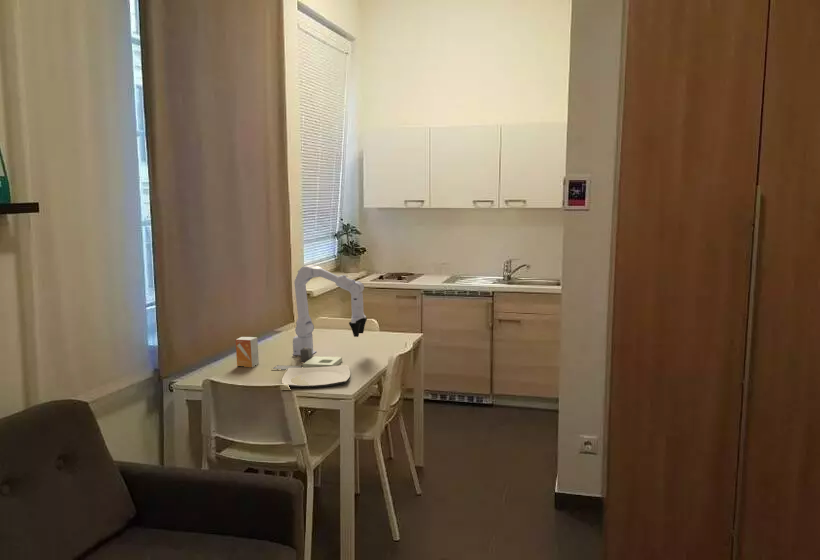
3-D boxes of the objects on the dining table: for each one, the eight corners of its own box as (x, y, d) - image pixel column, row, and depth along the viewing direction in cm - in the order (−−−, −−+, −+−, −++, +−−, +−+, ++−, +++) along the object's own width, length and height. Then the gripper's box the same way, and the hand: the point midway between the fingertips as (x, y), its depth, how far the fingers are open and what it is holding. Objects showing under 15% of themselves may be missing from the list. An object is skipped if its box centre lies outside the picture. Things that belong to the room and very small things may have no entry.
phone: (270, 371, 307) (270, 369, 307) (277, 367, 314) (277, 365, 313) (297, 372, 304) (297, 369, 304) (303, 368, 310) (303, 365, 310)
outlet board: (302, 368, 308) (302, 364, 308) (314, 360, 321) (313, 356, 321) (331, 369, 304) (331, 364, 304) (342, 361, 318) (342, 357, 318)
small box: (236, 366, 315) (234, 339, 313) (244, 363, 321) (242, 336, 319) (252, 367, 312) (250, 339, 310) (259, 364, 318) (257, 336, 316)
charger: (301, 362, 319) (300, 348, 318) (304, 360, 322) (303, 346, 322) (309, 362, 318) (308, 348, 317) (312, 360, 322) (311, 346, 321)
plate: (286, 372, 303) (286, 367, 302) (350, 369, 304) (350, 363, 304) (278, 391, 274) (278, 385, 274) (350, 388, 276) (349, 381, 276)
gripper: (360, 309, 317) (362, 338, 319) (369, 304, 331) (371, 331, 333) (346, 309, 319) (347, 338, 321) (356, 304, 333) (357, 331, 335)
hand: (358, 334), depth 327 cm, fingers open, 7 cm apart
